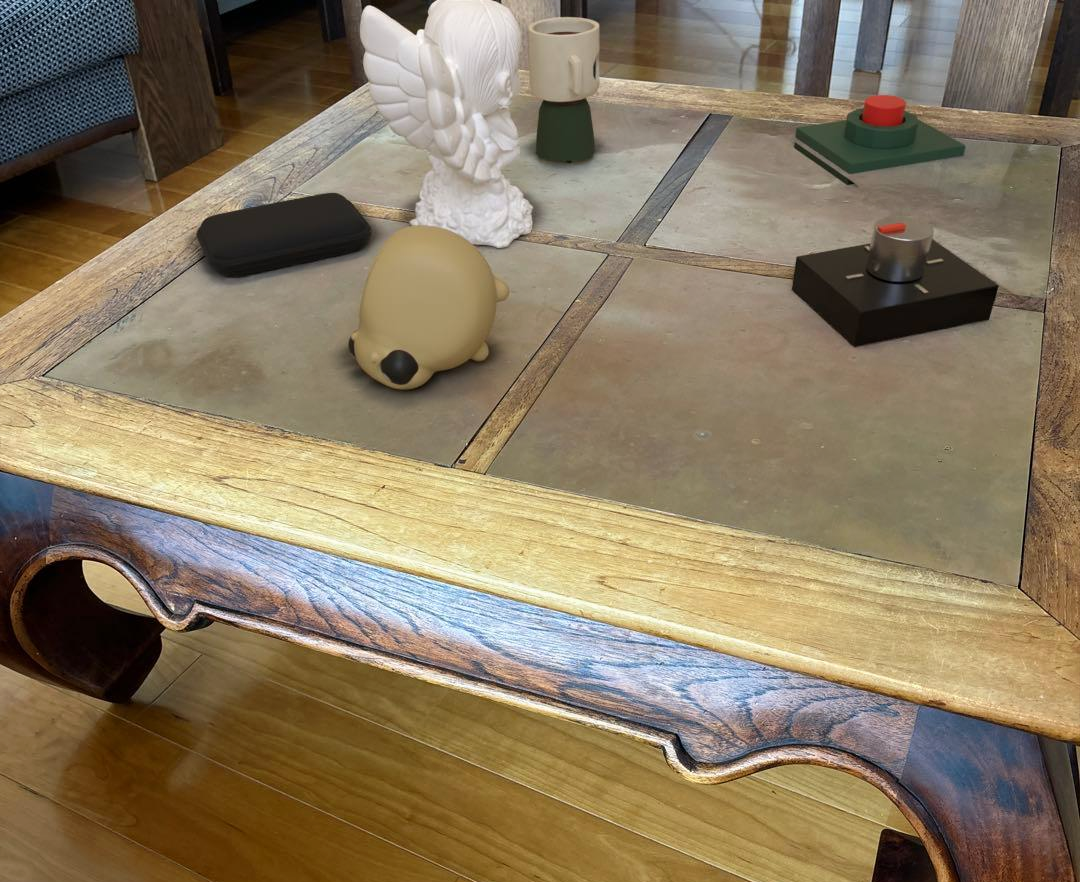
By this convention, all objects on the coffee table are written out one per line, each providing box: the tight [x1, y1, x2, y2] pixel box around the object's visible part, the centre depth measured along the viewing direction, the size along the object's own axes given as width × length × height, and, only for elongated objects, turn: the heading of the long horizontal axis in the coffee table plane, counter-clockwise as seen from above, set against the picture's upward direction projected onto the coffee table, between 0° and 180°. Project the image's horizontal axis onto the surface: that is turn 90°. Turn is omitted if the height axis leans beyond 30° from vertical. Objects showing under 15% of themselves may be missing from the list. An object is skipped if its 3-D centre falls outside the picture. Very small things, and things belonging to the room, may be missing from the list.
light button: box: [862, 94, 907, 126], centre depth 103 cm, size 4×4×2 cm
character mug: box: [527, 16, 601, 164], centre depth 105 cm, size 11×7×13 cm, turn 14°
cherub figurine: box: [359, 0, 534, 249], centre depth 89 cm, size 13×12×20 cm
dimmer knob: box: [866, 215, 935, 282], centre depth 80 cm, size 4×4×4 cm
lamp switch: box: [793, 107, 966, 186], centre depth 105 cm, size 13×11×4 cm
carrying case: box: [195, 192, 373, 278], centre depth 93 cm, size 11×3×15 cm
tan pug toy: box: [348, 225, 510, 390], centre depth 75 cm, size 10×12×11 cm
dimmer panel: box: [791, 238, 1000, 348], centre depth 82 cm, size 12×10×3 cm
